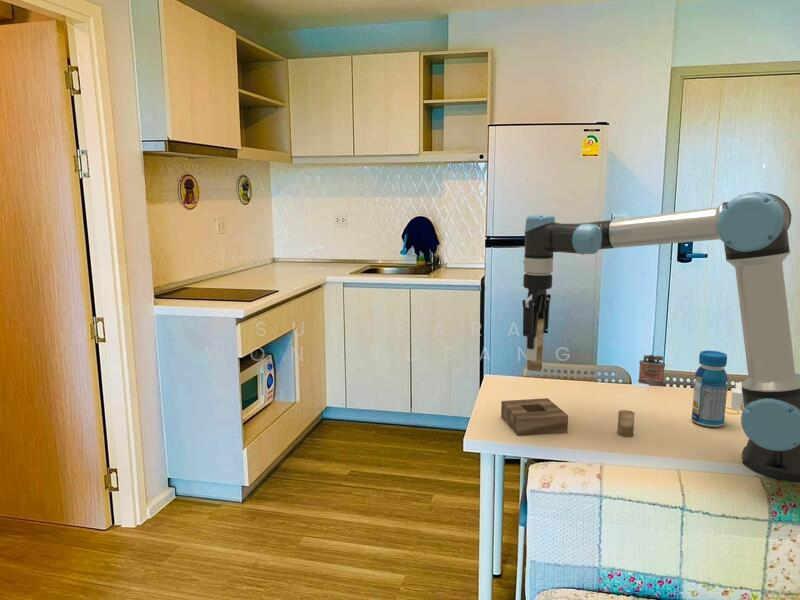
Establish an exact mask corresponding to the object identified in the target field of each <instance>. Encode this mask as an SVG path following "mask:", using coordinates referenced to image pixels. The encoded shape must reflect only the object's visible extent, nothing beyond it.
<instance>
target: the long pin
mask: <svg viewBox="0 0 800 600" xmlns="http://www.w3.org/2000/svg"><path fill="white" fill-rule="evenodd" d="M543 328H544V319H543V318H538V322H537V330H536V337H537V361H532V360H526V369H527V370H528V371H531V372H541V371H542V370H543V357H542V353H543Z"/></svg>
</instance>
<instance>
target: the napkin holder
mask: <svg viewBox="0 0 800 600" xmlns="http://www.w3.org/2000/svg"><path fill="white" fill-rule="evenodd" d="M741 384H742V382H735V388H733V387H732V389H731V399H730V405H731V406H730V407H731V410H737V411H741V407H742V406H743V407H744V403H743V395H742V386H741Z"/></svg>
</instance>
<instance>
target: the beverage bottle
mask: <svg viewBox="0 0 800 600" xmlns="http://www.w3.org/2000/svg"><path fill="white" fill-rule="evenodd" d="M727 362H728V355H727V353H724V352H721V351H717V350H702V351H700V352H699V355H698V363H699V365H700V366H699V367H698V368H697V369H696V371H695V374H694V377H695V380H694V381H693V399H692V410H691V420H692V422H694V423H695V424H697V425H700V426H704V427H708V428H709V427H711V428H718V427H721V426H724V424H725V416H726V415H725V414H726V404H727V396H728V390H729V387H728V384H727V382H728V381H729V375H728V373H727V371H726V370H725V368H726V366H727V364H728V363H727Z"/></svg>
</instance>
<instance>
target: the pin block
mask: <svg viewBox="0 0 800 600" xmlns="http://www.w3.org/2000/svg"><path fill="white" fill-rule="evenodd" d="M500 403H501V406H500V407H501V409H500V413H501V414H500V417H501V419H503V421H504V422H505V423H506V424H507V425H508V427H509V428H510V429H511V430H512V431H513V433H516V434H515V435H516V436H517V437H522V436H540V435H542V436H543V435H555V434H556V435H557V434H568V429H569V428H568V426H569V414H567V413H566V412H565V411H564V410H562V408H561V407H559V406H558V405H557V404H555V403H554V402H553V401H551V399H550V398H548V397H545V398H530V399H529V398H528V399H527V398H526V399H513V400H512V399H510V400H501V402H500Z"/></svg>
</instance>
